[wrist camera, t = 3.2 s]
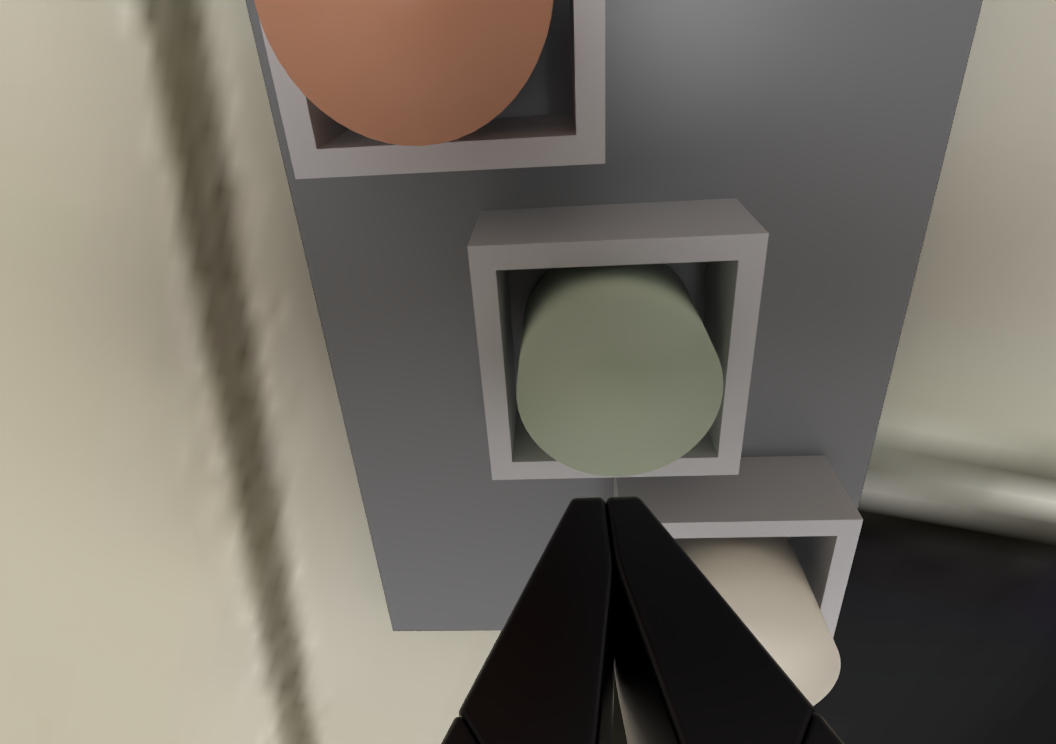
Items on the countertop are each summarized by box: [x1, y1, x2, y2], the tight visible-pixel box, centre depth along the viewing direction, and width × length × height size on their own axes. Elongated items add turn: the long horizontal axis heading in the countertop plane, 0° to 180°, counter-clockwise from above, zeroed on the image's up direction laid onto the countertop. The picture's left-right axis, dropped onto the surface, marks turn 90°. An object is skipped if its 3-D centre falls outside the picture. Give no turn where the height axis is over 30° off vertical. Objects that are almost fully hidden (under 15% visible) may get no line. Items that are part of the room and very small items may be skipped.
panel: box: [246, 0, 983, 638], centre depth 15 cm, size 14×22×4 cm, turn 3°
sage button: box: [516, 263, 723, 476], centre depth 14 cm, size 4×4×3 cm
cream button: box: [674, 537, 841, 706], centre depth 16 cm, size 4×4×3 cm
